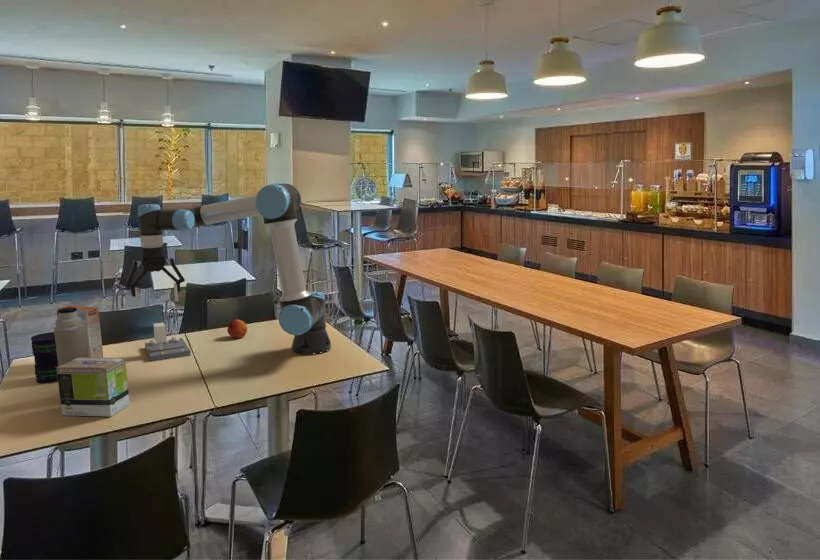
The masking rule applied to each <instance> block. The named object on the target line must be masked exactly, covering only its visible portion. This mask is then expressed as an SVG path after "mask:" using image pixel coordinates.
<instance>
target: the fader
mask: <svg viewBox="0 0 820 560" xmlns="http://www.w3.org/2000/svg"><path fill="white" fill-rule="evenodd" d="M152 325H153V336H154V340H155V341H156V343H158V342H159V349H160V350H163V342H166V338H167V333H166V325H165V323H164V322H155V323H153V324H152Z"/></svg>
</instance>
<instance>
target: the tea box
mask: <svg viewBox="0 0 820 560" xmlns="http://www.w3.org/2000/svg"><path fill="white" fill-rule="evenodd" d="M56 368H57V377H58V382H57V383H58V384H57V385H58V391H59V393H58V394H59V400H60V407H61V413H62V416H71V417H72V416H73V417H74V416H77V417H81V416H82V417H108V418H110V417H112V416H115V415H116V414H118V413H119V412H121V411H122V410H123V409H125V408H127V407H128V406H130V393H129V392H130V391H129V382H128V373H127V365H126V358H125V357H103V358H97V357H96V358H95V357H93V358H92V357H88V358H87V357H79V358H76V359H74V360H72V361H70V362H67V363H65V364H63V365H61V366H58V367H56Z"/></svg>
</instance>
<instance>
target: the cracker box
mask: <svg viewBox="0 0 820 560" xmlns="http://www.w3.org/2000/svg"><path fill="white" fill-rule="evenodd" d="M68 307H75V308H77V311H76V312H77V317H80V318H81V320H82V321H81V324H83V325H84V328H85V337H86V346H87V355H88V357H92V358H93V357H95V358H96V357H97V358H104V351H103V341H102V333H101V320H100V313H99V307H94V306H93V307H92V306H82V305H81V306H79V305H70V304H69V305H65V306H60V307H57V308H56V315H57V319H59V317H58V314H59V313H58V310H59V309H62V308H68Z"/></svg>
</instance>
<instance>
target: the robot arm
mask: <svg viewBox="0 0 820 560" xmlns="http://www.w3.org/2000/svg"><path fill="white" fill-rule="evenodd" d="M301 204H302V196H301V194H300V192H299V190H298V189H297V188H296V187H295V186H294V185H292V184H289V183H278V182H277V183H271V184H270V183H269V184H267V185H265V186H263V187H262V188H261V189H260V190H259V191H258V192H257V194H255V195H250V196H245V197H241V198H234V199H229V200H225V201H220V202H219V201H218V202H214V203H208V204H203V205H199V206H195V207H188V208H178V209H161V206H160V204H158V203H157V204H156V203H149V204H148V203H147V204H139V205H138V206H137V218H138V224H139V236H140V238H139V239H140V246H141V251H140V252H141V260H136V259H135V260H133V261H132V268H131V269H130V272H129V274H128V277H127V279H126V281H125V283H124V285H125V287H126V288H130V292H131V296H132V298H133V297H135V306H140V304H139V293H138V291H139V290H138V286H137V285H138V284H139V283H140V281H141V280H142V279H143V277H144V276H145V275H146V274H147V272H149V273H153V272H160V271H163V272H164V273H165V274H166V275H167V277H169V278H171V280H172V281H173V282H174V283H173V292H174V301H175V302H179V294H178V293H180V292H181V283H183V282H185V281H186V280H185V277H184V276H183V275H182V273H181V271H180V269H178V267H177V266H176V264H175V260H174V258H173V257H169V258H165V251H164V250H165V248H164V247H163V245H164V237H163V236H164V235H163V231H180V232H184V231H191V230H192V229H193V228H200V227H202V226H208V225H213V224H219V223H225V222H230V221H234V220H240V219H245V218H246V219H247V218H252V217H257V216H262V218H263V224H264V226H266V227H267V228H268V229H269V230H270V231H269V232H270V237H271V244H272V247H273V252H274V257H275V262H276V263H275V264H276V268H277V274H278V278H279V284H280V289H281V295H280V298H279V299H278V301H279V307H280V312H279V313H278V324H279V326H280V328H281V329H282V330H283V331H284V332H286V333H287V334H289V335H290V336H291V335H292V336H293V339H292V342H291V351H292V352H293V353H294V352H295V354H297V353H299V354H298V355H305V354H311V355H314V354H313V353H320V352H324V351H327V350H329V349H330V348H331V349H332V341H331V339H330V336H329V334H328V331H327V325H326V323H327V321H326V317H327V316H326V298H325V297H326V295H325V293H324V292H322V291H314V290H313V291H311V290H309V291H308V290H307V287H306V282H305V281H306V280H305V277H304V276H305V275H304V271H303V266H302V260H301V256H300V250H299V244H298V241H297V240H298V239H297V235H296V229H295V224H296V222H297V221H298V215H297V211H298V210H299V208H300V206H301ZM166 263H167V264H169V265H170V266H171V268H172V269H173V270H174V272H175V273H176V275H177V277H178V278H179V279H178V278H176V277H175V275H173V274H172V273H171V272H170V271H169V270H168V269H167V268H166V267H165V265H166ZM140 265H142V267H143V268H142V270H141V271H140V272H139V274H138V275H137V276H136V278H135V279H134V280H133V278H134V276H135V273H136V271H137V269H138V268H139V267H140ZM131 282H132V283H131ZM331 349H330V350H331ZM330 350H329V351H330ZM327 352H328V351H327ZM324 353H325V352H324ZM320 354H321V353H320Z"/></svg>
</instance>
